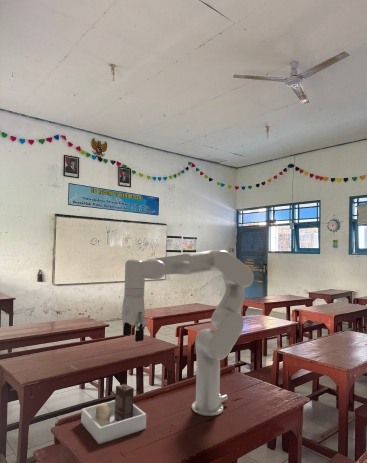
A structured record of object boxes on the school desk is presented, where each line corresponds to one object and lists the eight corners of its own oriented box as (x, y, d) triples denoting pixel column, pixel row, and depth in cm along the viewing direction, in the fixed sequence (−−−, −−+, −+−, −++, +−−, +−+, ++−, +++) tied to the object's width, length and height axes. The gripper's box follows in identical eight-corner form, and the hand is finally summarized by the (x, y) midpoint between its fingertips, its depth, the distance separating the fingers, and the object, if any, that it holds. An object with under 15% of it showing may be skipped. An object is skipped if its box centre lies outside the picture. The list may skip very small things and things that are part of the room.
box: (133, 421, 126) (134, 387, 126) (123, 425, 123) (124, 391, 123) (123, 415, 130) (124, 383, 131) (113, 419, 127) (114, 386, 128)
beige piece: (94, 424, 122) (95, 404, 123) (108, 423, 124) (109, 403, 124) (95, 432, 118) (96, 411, 118) (110, 430, 119) (111, 409, 120)
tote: (124, 410, 135) (125, 397, 136) (146, 428, 122) (146, 414, 122) (81, 422, 125) (81, 408, 125) (99, 444, 112) (99, 428, 112)
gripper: (115, 290, 135) (113, 334, 134) (136, 295, 121) (135, 345, 120) (132, 289, 139) (131, 332, 138) (154, 294, 125) (153, 341, 125)
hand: (133, 338), depth 129 cm, fingers open, 9 cm apart
